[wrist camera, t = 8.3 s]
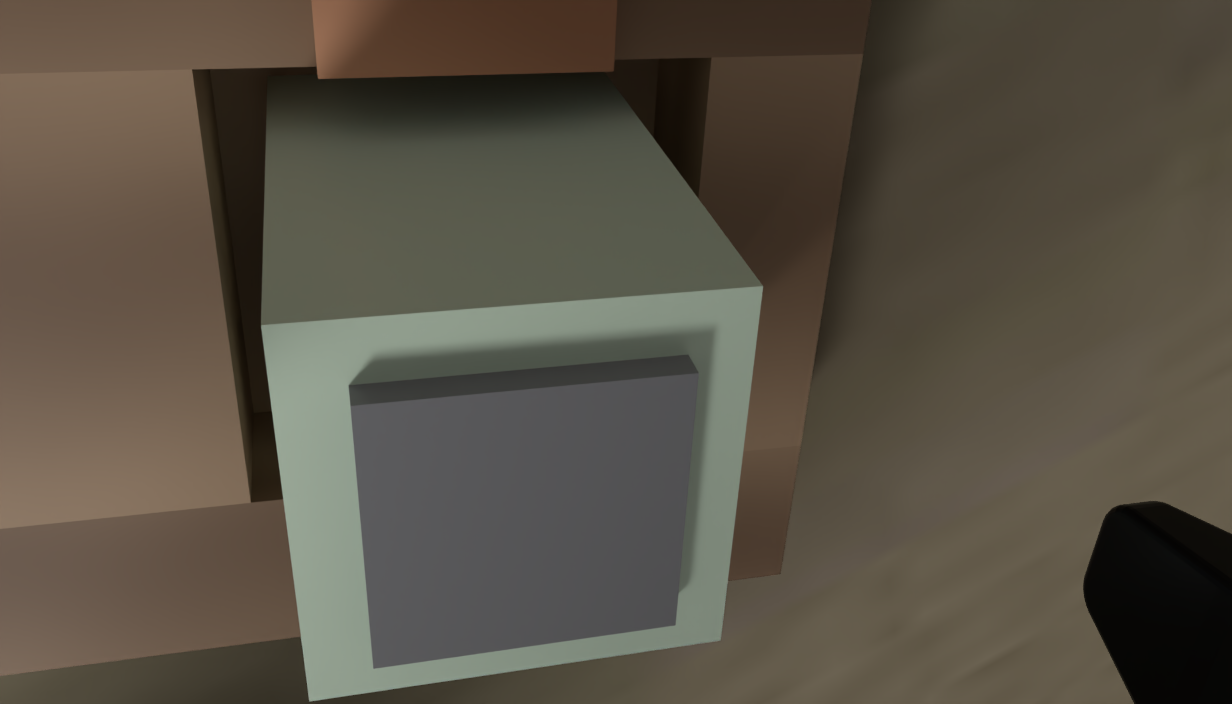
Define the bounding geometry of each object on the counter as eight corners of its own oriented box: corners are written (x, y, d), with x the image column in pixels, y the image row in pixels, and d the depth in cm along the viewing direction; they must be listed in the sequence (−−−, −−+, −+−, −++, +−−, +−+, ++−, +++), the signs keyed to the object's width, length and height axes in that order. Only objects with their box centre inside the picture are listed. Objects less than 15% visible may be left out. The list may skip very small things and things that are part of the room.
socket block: (726, 472, 19) (790, 592, 17) (-599, 616, 15) (-765, 801, 13) (808, -196, 14) (915, -161, 12) (-1157, -255, 10) (-1607, -219, 8)
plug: (589, 341, 17) (730, 662, 12) (299, 366, 16) (310, 726, 11) (599, 65, 15) (776, 303, 9) (267, 76, 14) (261, 345, 9)
